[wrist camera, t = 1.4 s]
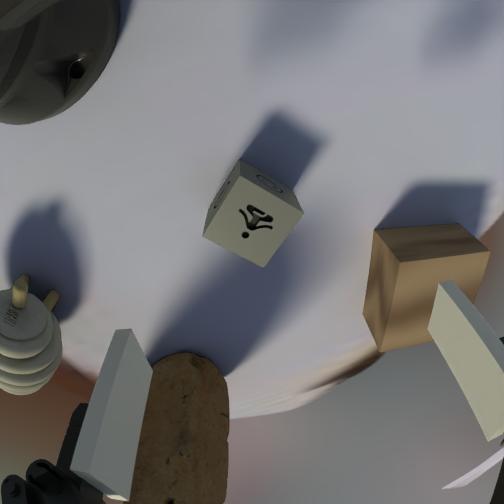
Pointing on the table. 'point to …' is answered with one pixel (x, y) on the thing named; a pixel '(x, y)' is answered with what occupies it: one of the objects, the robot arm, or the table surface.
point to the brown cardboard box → (417, 279)
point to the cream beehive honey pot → (27, 339)
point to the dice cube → (252, 214)
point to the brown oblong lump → (183, 435)
